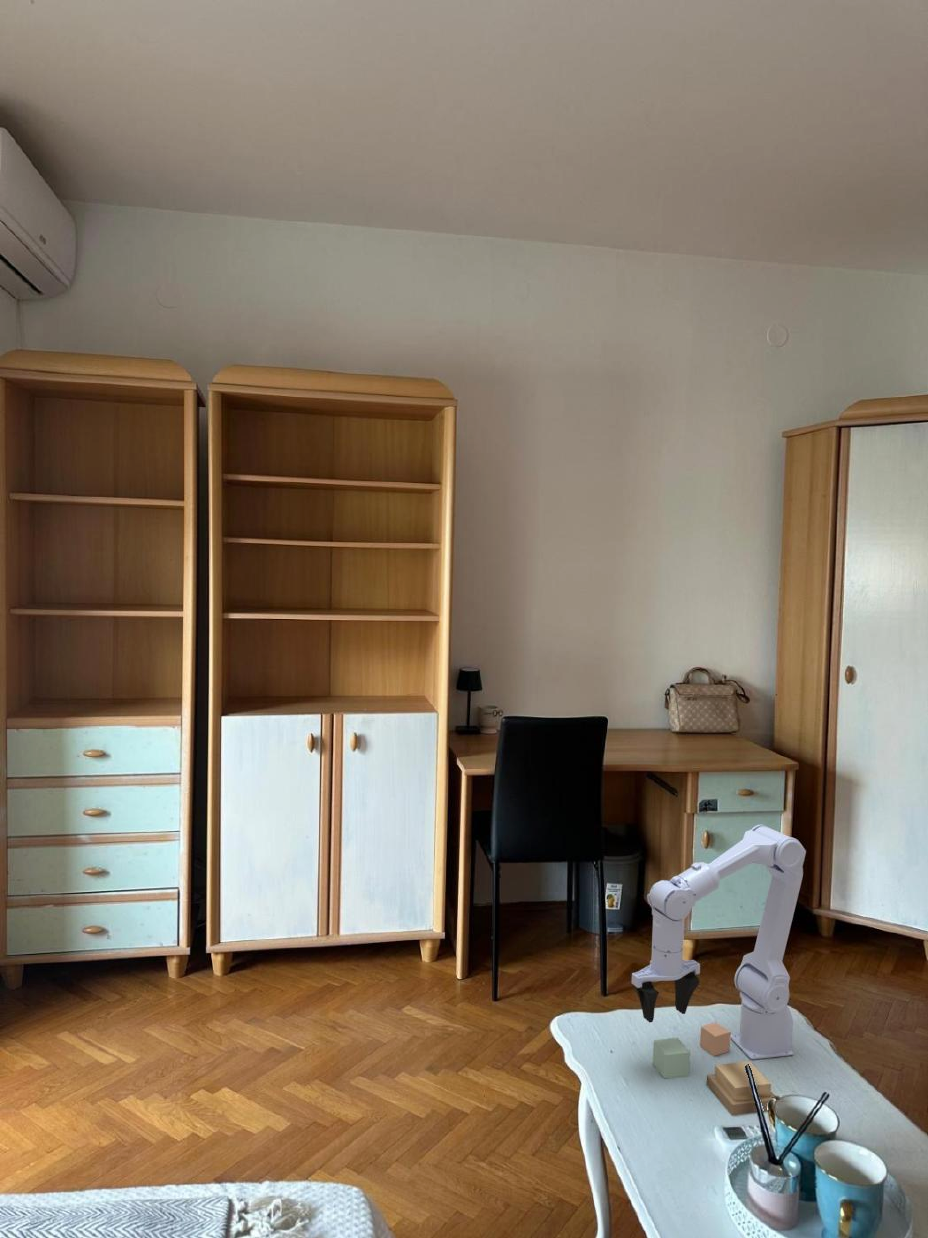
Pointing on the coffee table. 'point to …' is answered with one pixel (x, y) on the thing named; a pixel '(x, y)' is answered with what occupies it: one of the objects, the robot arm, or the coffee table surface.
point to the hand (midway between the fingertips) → (664, 1015)
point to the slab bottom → (729, 1103)
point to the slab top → (741, 1080)
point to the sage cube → (671, 1058)
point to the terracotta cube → (715, 1039)
